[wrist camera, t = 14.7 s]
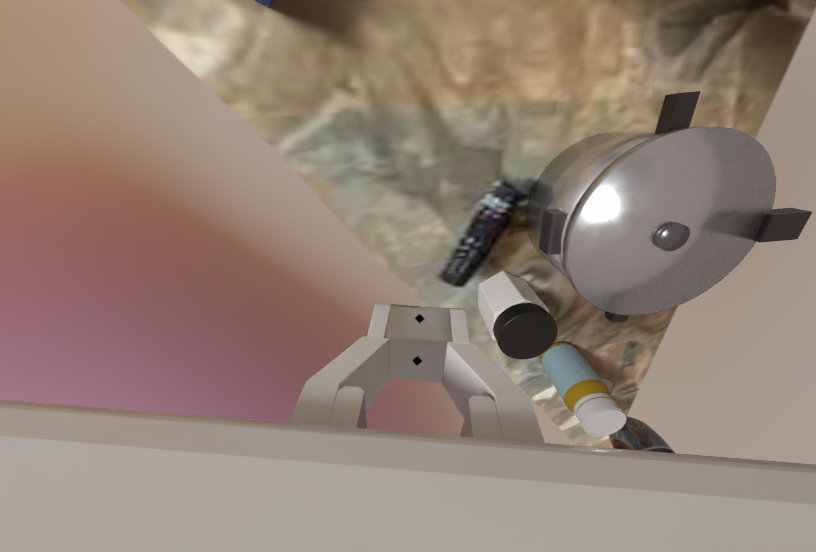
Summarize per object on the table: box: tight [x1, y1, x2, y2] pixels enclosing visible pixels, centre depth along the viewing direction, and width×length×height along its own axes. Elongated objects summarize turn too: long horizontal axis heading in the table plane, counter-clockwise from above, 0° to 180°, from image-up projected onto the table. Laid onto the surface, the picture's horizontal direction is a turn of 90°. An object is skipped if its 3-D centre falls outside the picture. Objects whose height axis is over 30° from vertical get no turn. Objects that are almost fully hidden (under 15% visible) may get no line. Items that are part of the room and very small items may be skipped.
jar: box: [478, 271, 557, 359], centre depth 44 cm, size 9×8×12 cm
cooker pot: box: [526, 91, 700, 322], centre depth 38 cm, size 27×21×12 cm
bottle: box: [540, 342, 626, 436], centre depth 50 cm, size 7×7×15 cm
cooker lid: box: [563, 127, 812, 315], centre depth 31 cm, size 21×24×2 cm
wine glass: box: [600, 378, 675, 453], centre depth 54 cm, size 8×8×15 cm
